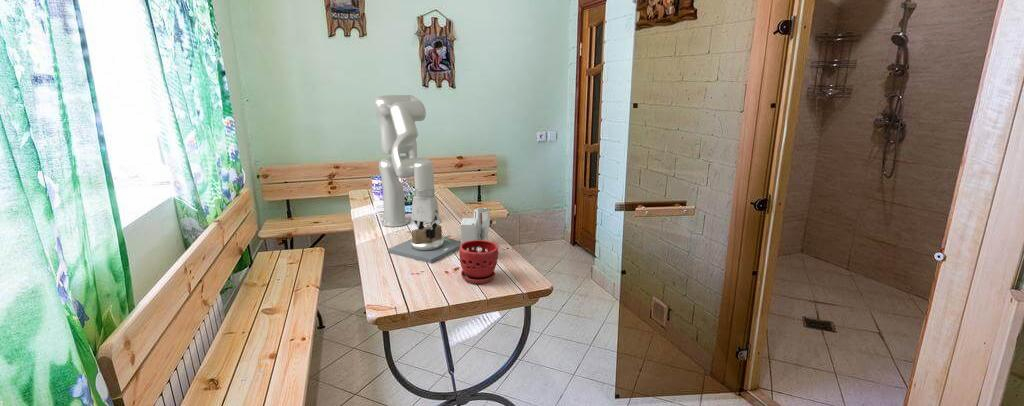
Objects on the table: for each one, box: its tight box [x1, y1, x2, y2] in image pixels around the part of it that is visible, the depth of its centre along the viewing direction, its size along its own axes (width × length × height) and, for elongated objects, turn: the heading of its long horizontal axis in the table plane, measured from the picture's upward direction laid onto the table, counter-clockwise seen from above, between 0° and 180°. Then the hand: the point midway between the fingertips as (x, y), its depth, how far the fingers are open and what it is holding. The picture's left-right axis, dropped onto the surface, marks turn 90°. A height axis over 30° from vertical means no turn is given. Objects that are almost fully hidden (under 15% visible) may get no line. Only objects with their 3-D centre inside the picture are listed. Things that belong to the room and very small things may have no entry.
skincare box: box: [460, 217, 479, 260], centre depth 178 cm, size 8×6×15 cm
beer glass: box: [472, 207, 491, 241], centre depth 192 cm, size 7×7×15 cm
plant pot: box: [458, 240, 499, 284], centre depth 160 cm, size 13×13×12 cm
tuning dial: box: [411, 224, 452, 251], centre depth 189 cm, size 18×13×7 cm
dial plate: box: [387, 237, 461, 264], centre depth 189 cm, size 22×22×2 cm
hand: (427, 236), depth 188 cm, fingers closed on tuning dial, 4 cm apart
